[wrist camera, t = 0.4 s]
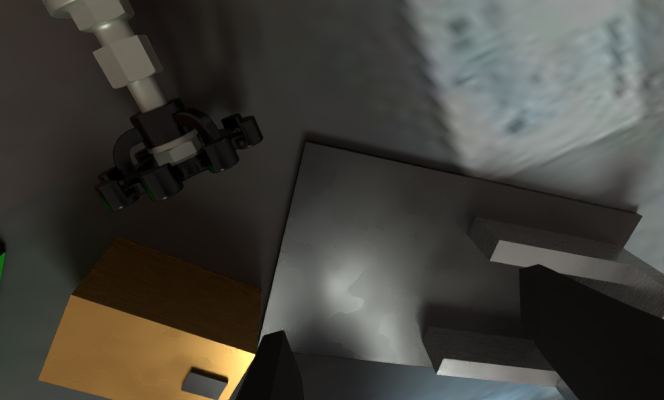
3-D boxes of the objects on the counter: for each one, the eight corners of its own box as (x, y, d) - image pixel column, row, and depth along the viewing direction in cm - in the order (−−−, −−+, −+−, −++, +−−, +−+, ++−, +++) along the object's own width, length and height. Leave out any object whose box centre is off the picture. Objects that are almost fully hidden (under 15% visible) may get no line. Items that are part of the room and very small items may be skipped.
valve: (-39, -128, 14) (140, 169, 19) (-288, -250, 8) (71, 234, 13) (131, -198, 14) (267, 121, 18) (9, -381, 8) (258, 165, 12)
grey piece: (539, 375, 28) (597, 453, 22) (258, 343, 24) (250, 429, 19) (636, 213, 23) (738, 265, 18) (305, 139, 19) (312, 180, 14)
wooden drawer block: (261, 288, 22) (255, 358, 18) (226, 349, 24) (211, 429, 19) (119, 234, 20) (68, 298, 15) (90, 306, 22) (35, 383, 17)
